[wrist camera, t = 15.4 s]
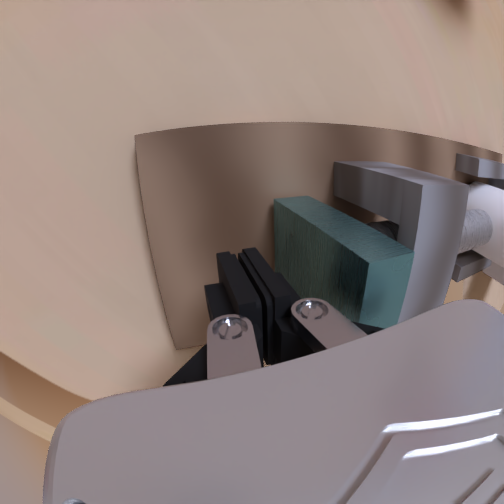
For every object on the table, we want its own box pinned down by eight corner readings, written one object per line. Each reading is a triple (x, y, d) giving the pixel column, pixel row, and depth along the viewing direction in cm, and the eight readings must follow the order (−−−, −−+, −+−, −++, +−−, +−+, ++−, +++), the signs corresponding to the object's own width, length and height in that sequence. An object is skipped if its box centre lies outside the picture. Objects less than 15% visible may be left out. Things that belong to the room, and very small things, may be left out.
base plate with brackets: (174, 338, 18) (188, 437, 11) (137, 135, 13) (100, 132, 6) (478, 255, 26) (523, 282, 19) (494, 152, 21) (548, 169, 14)
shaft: (275, 282, 16) (344, 379, 9) (273, 198, 14) (369, 263, 7) (449, 242, 20) (515, 281, 13) (457, 188, 18) (532, 218, 11)
